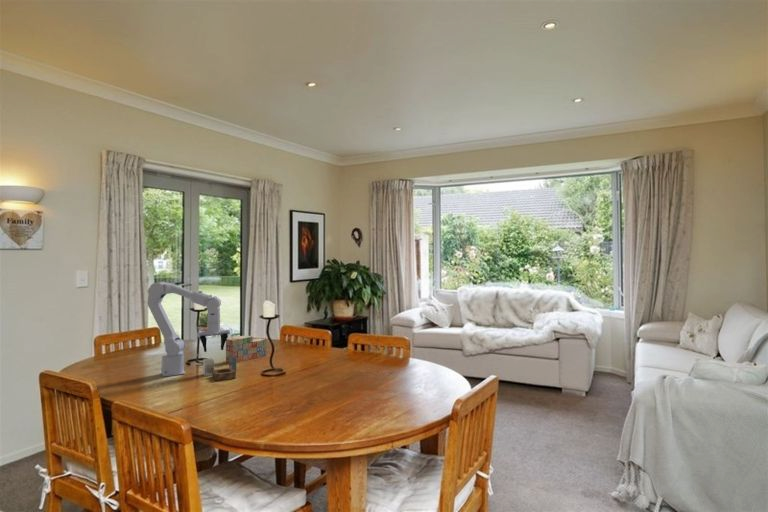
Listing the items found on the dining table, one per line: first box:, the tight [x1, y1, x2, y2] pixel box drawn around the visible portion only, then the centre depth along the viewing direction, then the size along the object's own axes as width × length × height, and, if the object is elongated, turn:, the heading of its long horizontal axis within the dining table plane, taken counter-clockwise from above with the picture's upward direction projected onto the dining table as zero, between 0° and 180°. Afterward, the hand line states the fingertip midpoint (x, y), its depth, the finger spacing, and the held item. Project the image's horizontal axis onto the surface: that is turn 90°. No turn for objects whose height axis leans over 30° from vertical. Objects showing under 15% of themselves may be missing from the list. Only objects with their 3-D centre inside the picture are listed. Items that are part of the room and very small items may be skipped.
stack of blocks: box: [225, 334, 267, 364], centre depth 233 cm, size 21×6×12 cm, turn 144°
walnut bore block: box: [211, 367, 237, 382], centre depth 197 cm, size 8×8×3 cm
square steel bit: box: [202, 357, 215, 377], centre depth 202 cm, size 4×4×7 cm
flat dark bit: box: [228, 355, 237, 373], centre depth 208 cm, size 2×6×7 cm, turn 32°
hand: (213, 350), depth 207 cm, fingers open, 7 cm apart
